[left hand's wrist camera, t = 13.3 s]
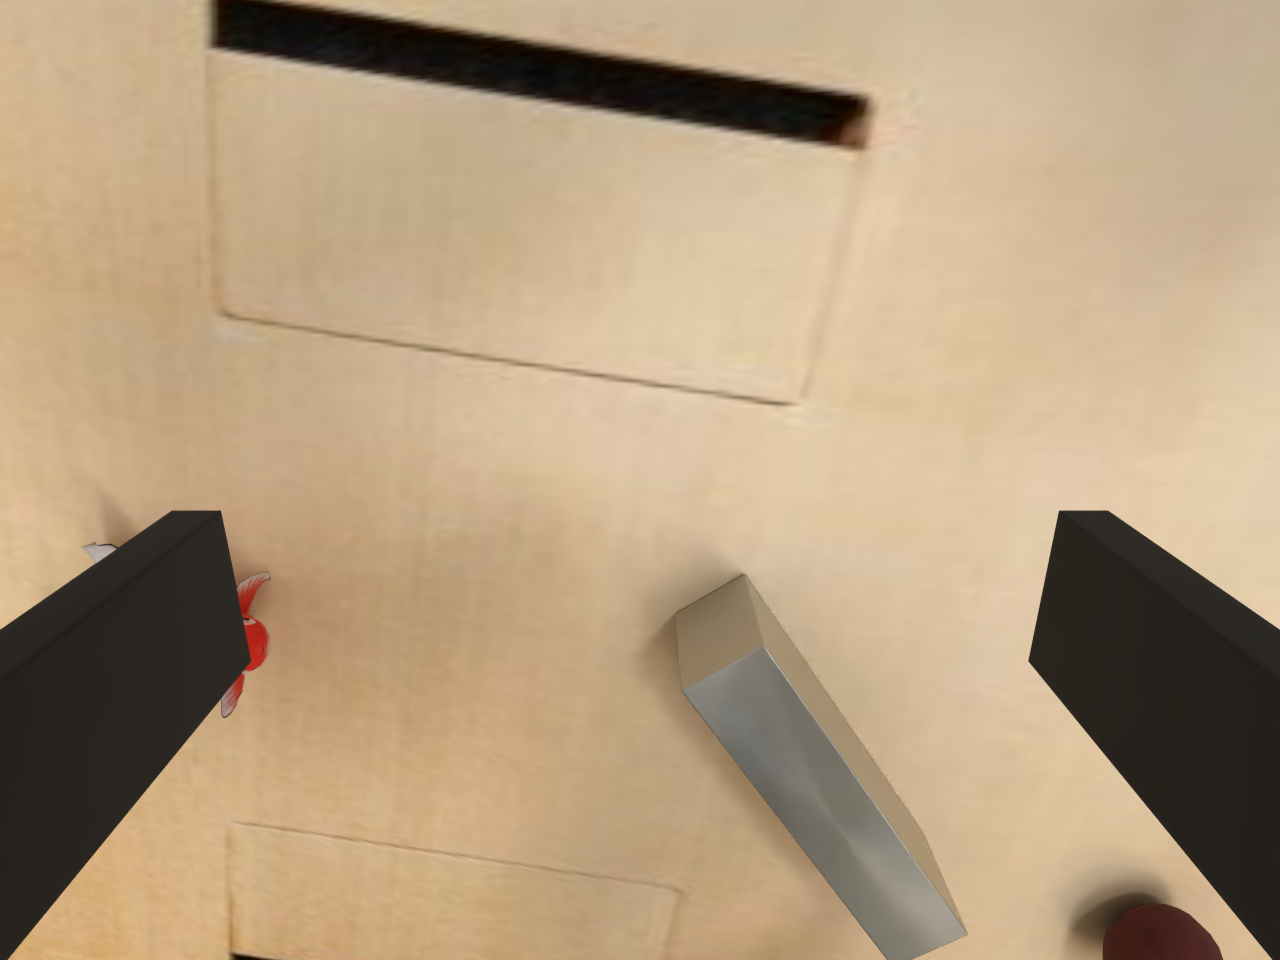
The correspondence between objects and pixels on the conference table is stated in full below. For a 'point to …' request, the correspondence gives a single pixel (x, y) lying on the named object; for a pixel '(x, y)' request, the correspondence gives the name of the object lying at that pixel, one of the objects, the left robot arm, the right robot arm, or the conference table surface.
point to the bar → (813, 770)
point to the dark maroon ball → (1158, 936)
